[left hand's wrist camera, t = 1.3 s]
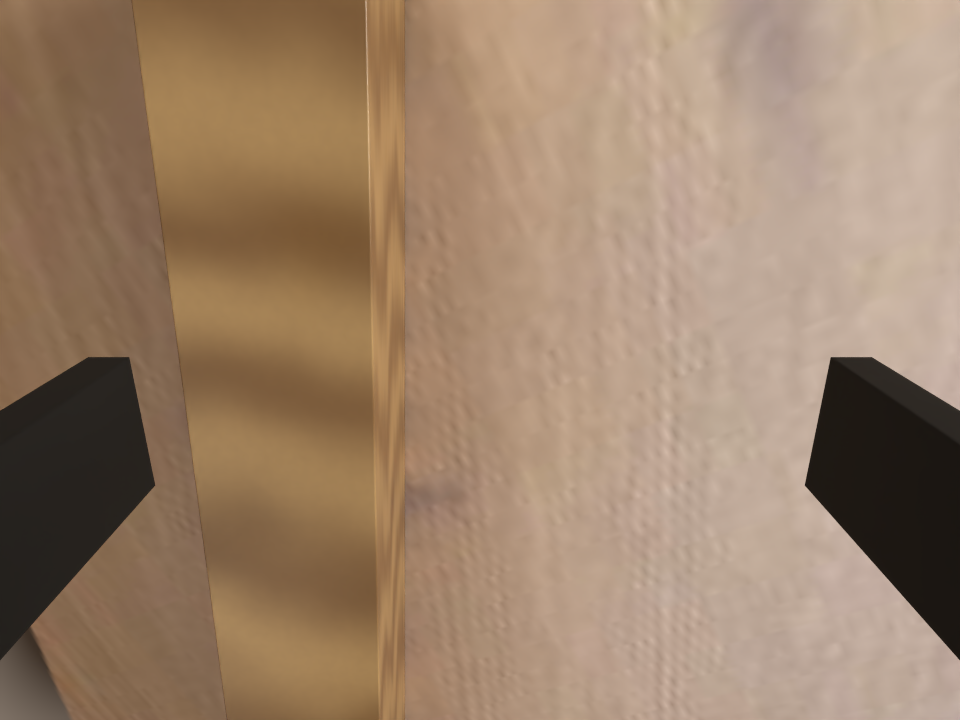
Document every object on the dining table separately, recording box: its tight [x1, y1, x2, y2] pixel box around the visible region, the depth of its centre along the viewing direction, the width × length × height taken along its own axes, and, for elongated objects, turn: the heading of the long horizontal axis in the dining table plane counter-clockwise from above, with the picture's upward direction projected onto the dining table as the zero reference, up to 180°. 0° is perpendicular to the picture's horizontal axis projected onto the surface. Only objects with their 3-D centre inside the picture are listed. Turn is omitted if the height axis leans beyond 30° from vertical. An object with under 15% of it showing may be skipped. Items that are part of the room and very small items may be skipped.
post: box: [132, 0, 405, 720], centre depth 29 cm, size 61×6×8 cm, turn 178°
